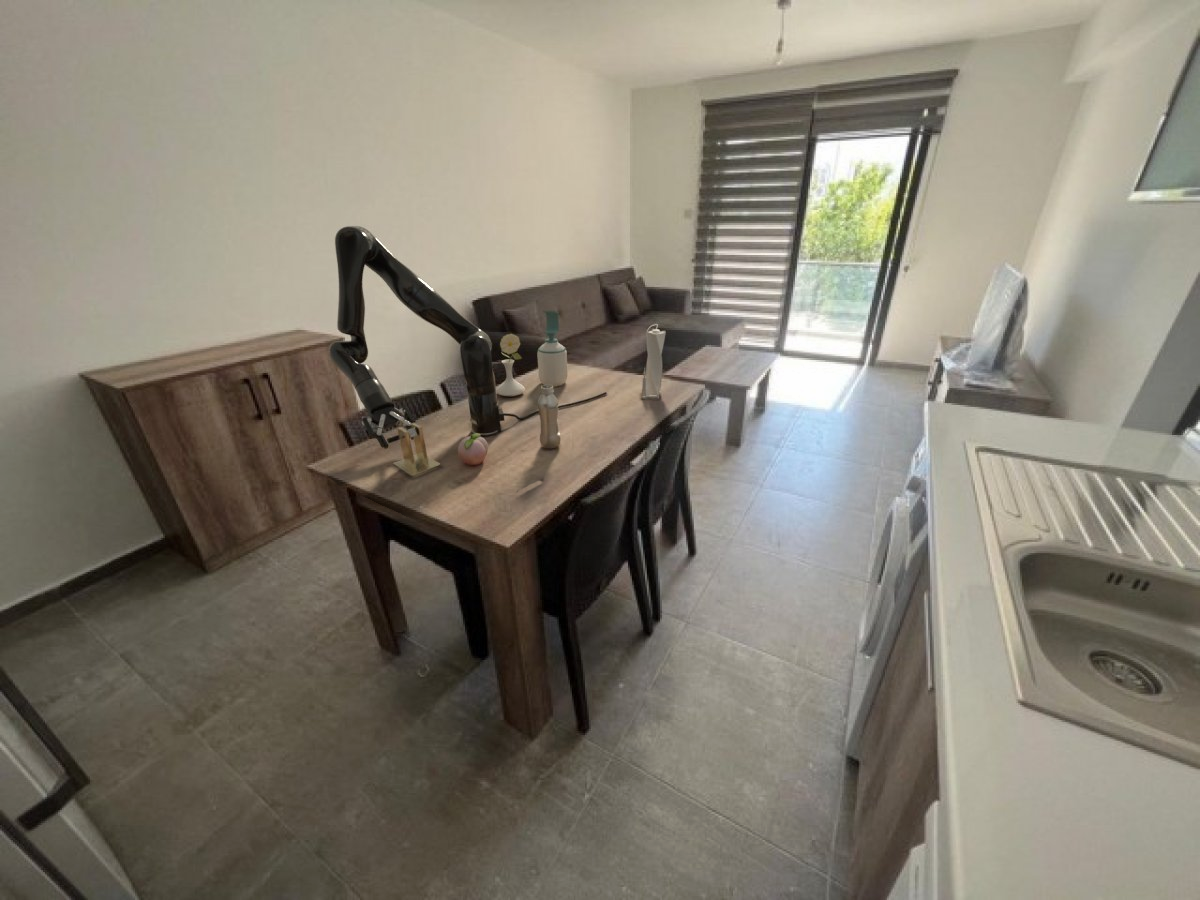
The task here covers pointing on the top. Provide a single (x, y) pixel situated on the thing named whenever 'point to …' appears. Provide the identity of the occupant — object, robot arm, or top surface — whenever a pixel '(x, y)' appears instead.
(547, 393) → the plastic bottle
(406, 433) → the bracket
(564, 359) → the soap bottle
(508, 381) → the flower in vase
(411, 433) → the lever
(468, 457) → the decorative fruit
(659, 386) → the skyscraper
